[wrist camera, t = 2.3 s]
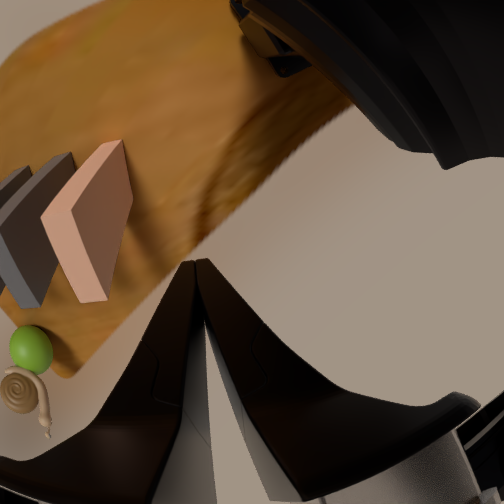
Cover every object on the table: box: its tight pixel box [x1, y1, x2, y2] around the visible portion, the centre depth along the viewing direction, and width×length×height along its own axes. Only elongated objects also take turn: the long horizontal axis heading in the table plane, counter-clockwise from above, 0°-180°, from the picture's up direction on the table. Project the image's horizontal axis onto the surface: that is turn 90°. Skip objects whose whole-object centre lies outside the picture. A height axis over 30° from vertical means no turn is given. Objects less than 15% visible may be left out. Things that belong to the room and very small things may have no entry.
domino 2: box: [0, 152, 76, 309], centre depth 12 cm, size 1×4×10 cm, turn 1°
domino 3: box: [40, 139, 133, 303], centre depth 13 cm, size 1×4×10 cm, turn 1°
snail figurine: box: [0, 325, 53, 439], centre depth 19 cm, size 5×6×12 cm
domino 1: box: [0, 165, 32, 295], centre depth 12 cm, size 1×4×10 cm, turn 0°
